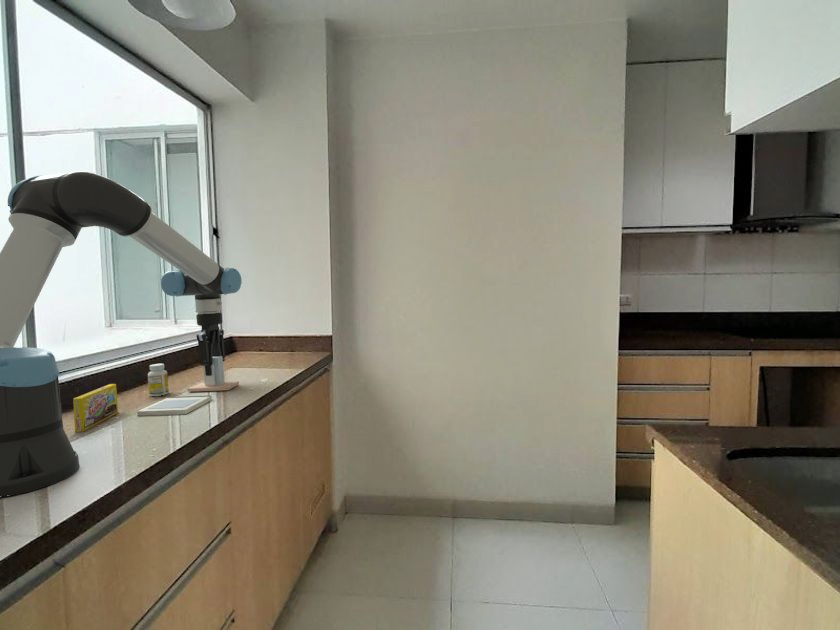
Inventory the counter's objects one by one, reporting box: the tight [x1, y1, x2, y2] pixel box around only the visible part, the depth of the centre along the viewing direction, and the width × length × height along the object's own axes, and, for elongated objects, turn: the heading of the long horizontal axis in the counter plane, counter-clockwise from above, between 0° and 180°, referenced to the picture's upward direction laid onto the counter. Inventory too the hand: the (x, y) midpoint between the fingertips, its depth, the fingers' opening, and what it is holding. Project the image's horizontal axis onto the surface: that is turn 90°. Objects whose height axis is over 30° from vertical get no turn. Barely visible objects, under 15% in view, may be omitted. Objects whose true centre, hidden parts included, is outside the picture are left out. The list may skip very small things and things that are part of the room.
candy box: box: [72, 383, 119, 433], centre depth 114 cm, size 16×2×8 cm, turn 8°
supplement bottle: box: [147, 363, 170, 397], centre depth 141 cm, size 5×5×10 cm
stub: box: [187, 356, 240, 393], centre depth 145 cm, size 8×13×10 cm, turn 88°
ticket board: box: [136, 395, 213, 417], centre depth 125 cm, size 14×13×1 cm
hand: (214, 383), depth 146 cm, fingers open, 4 cm apart
